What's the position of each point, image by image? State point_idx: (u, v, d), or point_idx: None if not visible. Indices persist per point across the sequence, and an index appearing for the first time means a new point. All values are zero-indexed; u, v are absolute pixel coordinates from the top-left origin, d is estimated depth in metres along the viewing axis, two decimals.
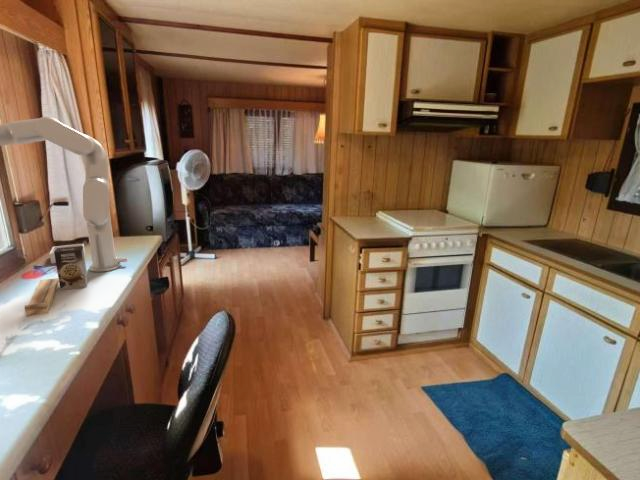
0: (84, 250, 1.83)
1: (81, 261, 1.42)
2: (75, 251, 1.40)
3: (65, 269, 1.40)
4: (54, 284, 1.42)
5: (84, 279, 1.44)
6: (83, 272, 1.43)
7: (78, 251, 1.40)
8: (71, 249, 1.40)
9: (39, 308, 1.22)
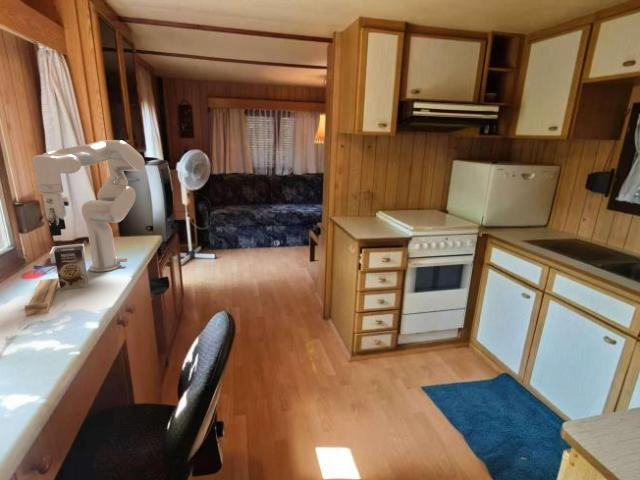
0: (84, 250, 1.83)
1: (81, 261, 1.42)
2: (75, 251, 1.40)
3: (65, 269, 1.40)
4: (54, 284, 1.42)
5: (84, 279, 1.44)
6: (83, 272, 1.43)
7: (78, 251, 1.40)
8: (71, 249, 1.40)
9: (39, 308, 1.22)
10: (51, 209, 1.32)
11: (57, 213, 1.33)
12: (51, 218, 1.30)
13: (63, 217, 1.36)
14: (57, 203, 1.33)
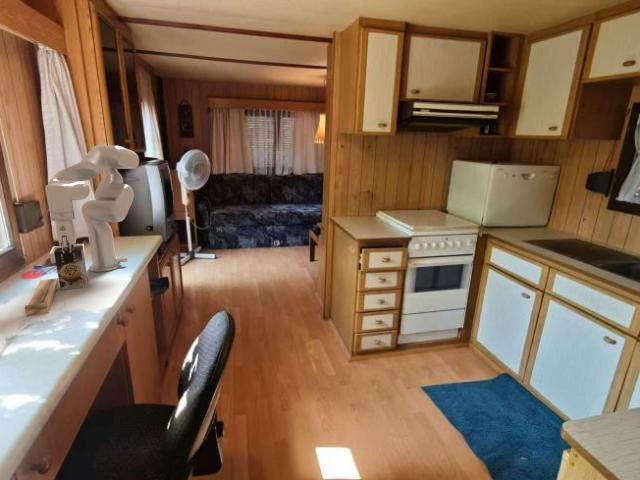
0: (84, 250, 1.83)
1: (81, 261, 1.42)
2: (75, 251, 1.40)
3: (65, 269, 1.40)
4: (54, 284, 1.42)
5: (84, 279, 1.44)
6: (83, 272, 1.43)
7: (78, 251, 1.40)
8: (71, 249, 1.40)
9: (39, 308, 1.22)
10: (64, 237, 1.35)
11: (69, 240, 1.36)
12: (65, 247, 1.34)
13: None
14: (69, 230, 1.36)
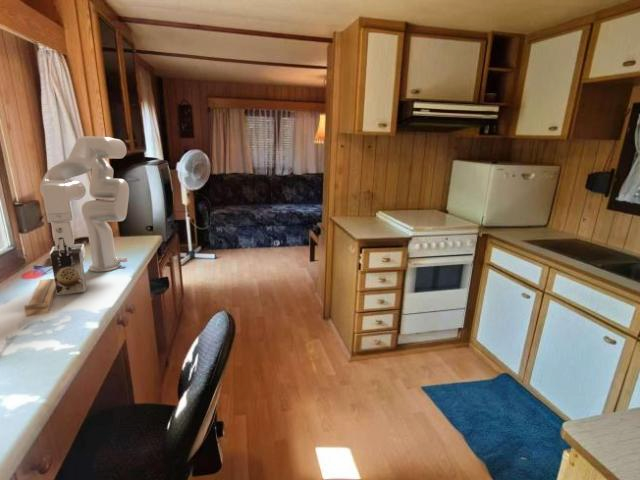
0: (84, 250, 1.83)
1: (79, 264, 1.35)
2: (73, 254, 1.33)
3: (62, 272, 1.33)
4: (54, 284, 1.42)
5: (82, 283, 1.37)
6: (81, 276, 1.36)
7: (76, 254, 1.34)
8: None
9: (39, 308, 1.22)
10: (61, 239, 1.29)
11: (67, 242, 1.30)
12: (62, 250, 1.28)
13: (72, 246, 1.33)
14: (67, 232, 1.29)
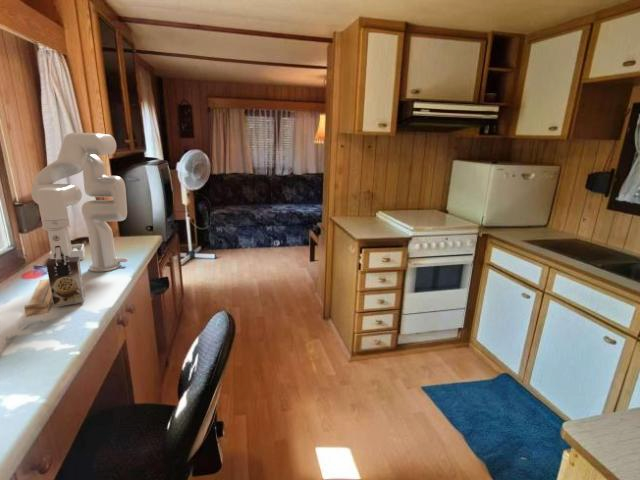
0: (84, 250, 1.83)
1: (77, 274, 1.27)
2: (71, 263, 1.25)
3: (59, 283, 1.25)
4: None
5: (80, 294, 1.29)
6: (79, 286, 1.28)
7: (73, 263, 1.25)
8: (66, 261, 1.25)
9: (39, 308, 1.22)
10: (57, 248, 1.20)
11: (64, 251, 1.21)
12: (59, 260, 1.19)
13: None
14: (64, 240, 1.21)
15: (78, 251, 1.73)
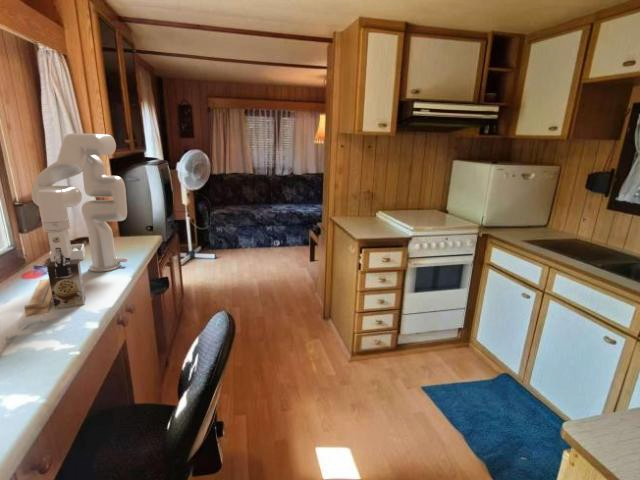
0: (84, 250, 1.83)
1: (77, 276, 1.27)
2: (71, 265, 1.25)
3: (60, 285, 1.25)
4: None
5: (81, 296, 1.29)
6: (80, 288, 1.28)
7: (74, 265, 1.26)
8: (66, 263, 1.26)
9: (39, 308, 1.22)
10: (57, 248, 1.20)
11: (64, 252, 1.21)
12: (58, 259, 1.18)
13: None
14: (64, 242, 1.21)
15: (78, 251, 1.73)
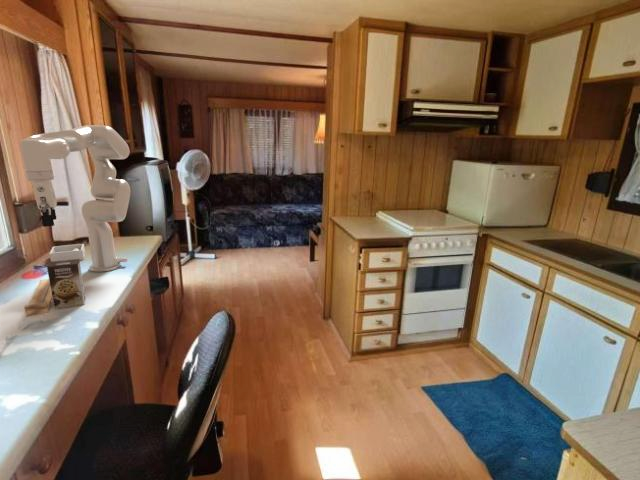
0: (84, 250, 1.83)
1: (77, 276, 1.27)
2: (71, 265, 1.25)
3: (60, 285, 1.25)
4: None
5: (81, 296, 1.29)
6: (80, 288, 1.28)
7: (74, 265, 1.26)
8: (66, 263, 1.26)
9: (39, 308, 1.22)
10: (42, 198, 1.23)
11: (49, 202, 1.24)
12: (43, 207, 1.21)
13: (55, 206, 1.27)
14: (49, 191, 1.23)
15: (78, 251, 1.73)
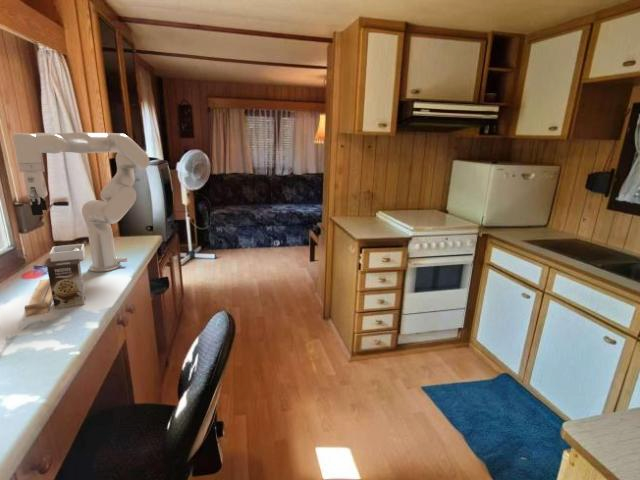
0: (84, 250, 1.83)
1: (77, 276, 1.27)
2: (71, 265, 1.25)
3: (60, 285, 1.25)
4: None
5: (81, 296, 1.29)
6: (80, 288, 1.28)
7: (74, 265, 1.26)
8: (66, 263, 1.26)
9: (39, 308, 1.22)
10: (32, 188, 1.31)
11: (38, 192, 1.32)
12: (32, 197, 1.29)
13: None
14: (38, 182, 1.31)
15: (78, 251, 1.73)
